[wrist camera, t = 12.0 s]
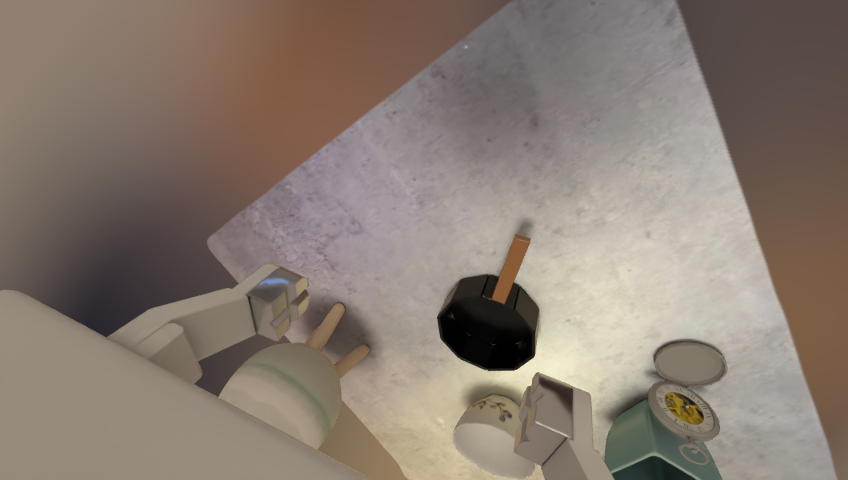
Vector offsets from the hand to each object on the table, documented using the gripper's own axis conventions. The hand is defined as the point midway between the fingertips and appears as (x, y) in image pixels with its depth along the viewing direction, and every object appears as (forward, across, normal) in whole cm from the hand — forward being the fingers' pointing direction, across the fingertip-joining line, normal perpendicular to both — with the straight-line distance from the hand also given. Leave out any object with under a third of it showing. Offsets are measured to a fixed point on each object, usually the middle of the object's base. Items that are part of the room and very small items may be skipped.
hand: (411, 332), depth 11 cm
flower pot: (+27, -28, +32) cm, 50 cm away
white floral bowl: (+27, -11, +45) cm, 54 cm away
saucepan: (+28, -4, +20) cm, 34 cm away
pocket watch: (+28, -26, +22) cm, 44 cm away
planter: (+28, +20, +42) cm, 54 cm away
